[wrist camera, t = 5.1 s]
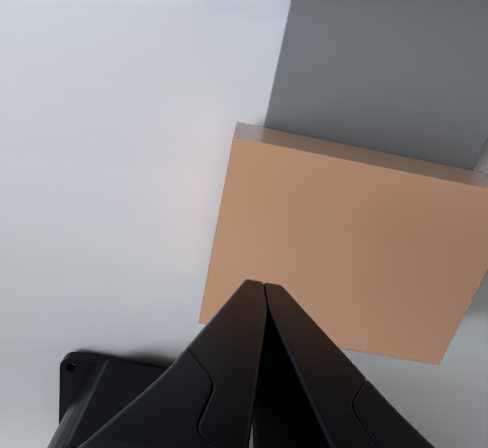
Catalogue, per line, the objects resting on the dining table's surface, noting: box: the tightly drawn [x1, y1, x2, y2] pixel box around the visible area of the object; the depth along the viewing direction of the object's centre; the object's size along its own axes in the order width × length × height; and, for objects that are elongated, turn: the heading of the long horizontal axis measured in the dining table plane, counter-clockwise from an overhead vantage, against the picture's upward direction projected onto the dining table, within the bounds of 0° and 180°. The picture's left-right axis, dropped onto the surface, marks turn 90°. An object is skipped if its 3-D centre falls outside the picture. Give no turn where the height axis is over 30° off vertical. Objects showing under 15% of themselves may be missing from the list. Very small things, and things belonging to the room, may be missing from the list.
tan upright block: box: [199, 122, 488, 365], centre depth 13 cm, size 6×2×8 cm
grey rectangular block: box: [264, 0, 488, 171], centre depth 12 cm, size 19×7×1 cm, turn 168°
